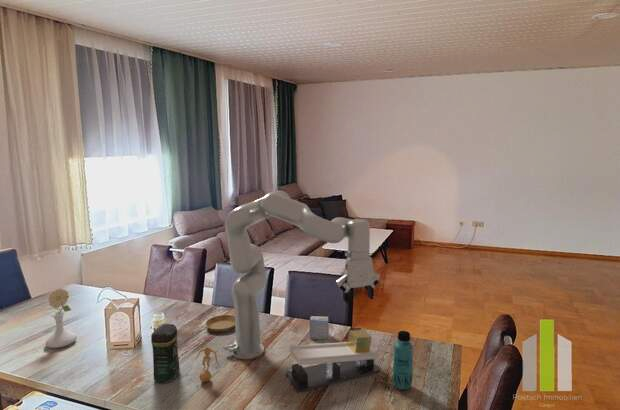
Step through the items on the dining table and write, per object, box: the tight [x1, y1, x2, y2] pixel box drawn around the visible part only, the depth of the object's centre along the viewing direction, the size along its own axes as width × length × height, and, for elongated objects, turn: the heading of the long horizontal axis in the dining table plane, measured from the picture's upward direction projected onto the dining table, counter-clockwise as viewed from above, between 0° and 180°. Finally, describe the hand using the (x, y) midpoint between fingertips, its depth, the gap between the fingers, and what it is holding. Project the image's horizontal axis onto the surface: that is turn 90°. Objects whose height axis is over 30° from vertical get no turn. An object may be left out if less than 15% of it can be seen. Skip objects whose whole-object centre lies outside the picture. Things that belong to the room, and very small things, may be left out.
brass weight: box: [347, 329, 373, 353], centre depth 148 cm, size 6×6×6 cm
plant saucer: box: [205, 314, 235, 333], centre depth 184 cm, size 15×15×3 cm
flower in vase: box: [45, 287, 78, 349], centre depth 168 cm, size 13×11×25 cm
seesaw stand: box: [285, 359, 381, 394], centre depth 145 cm, size 32×12×7 cm, turn 112°
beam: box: [289, 341, 378, 366], centre depth 144 cm, size 30×10×2 cm, turn 112°
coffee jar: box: [150, 323, 180, 383], centre depth 144 cm, size 10×8×19 cm
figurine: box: [195, 346, 218, 383], centre depth 142 cm, size 8×6×12 cm
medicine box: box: [309, 315, 330, 340], centre depth 172 cm, size 8×4×9 cm, turn 84°
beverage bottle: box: [392, 330, 414, 390], centre depth 135 cm, size 6×7×20 cm
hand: (358, 300), depth 145 cm, fingers open, 9 cm apart
